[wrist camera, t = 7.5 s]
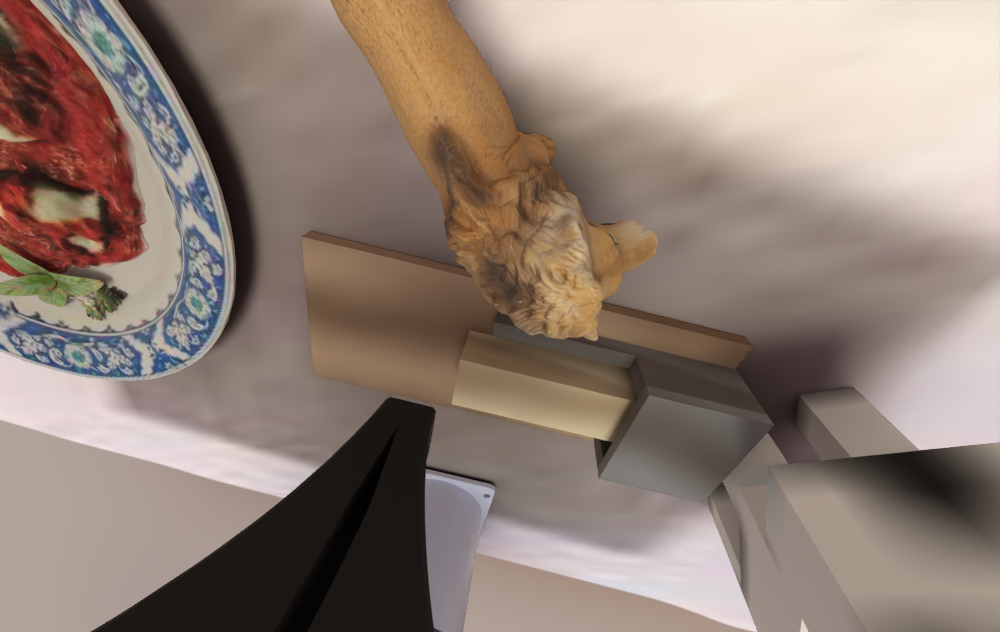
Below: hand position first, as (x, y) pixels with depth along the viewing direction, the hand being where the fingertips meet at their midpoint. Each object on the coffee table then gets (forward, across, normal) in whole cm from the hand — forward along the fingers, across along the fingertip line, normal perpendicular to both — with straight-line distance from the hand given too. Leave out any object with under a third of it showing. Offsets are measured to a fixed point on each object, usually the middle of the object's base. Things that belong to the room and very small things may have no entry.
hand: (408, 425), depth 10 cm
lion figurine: (+10, 0, -8) cm, 13 cm away
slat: (+9, -7, +4) cm, 12 cm away
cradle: (+10, -3, +4) cm, 11 cm away
